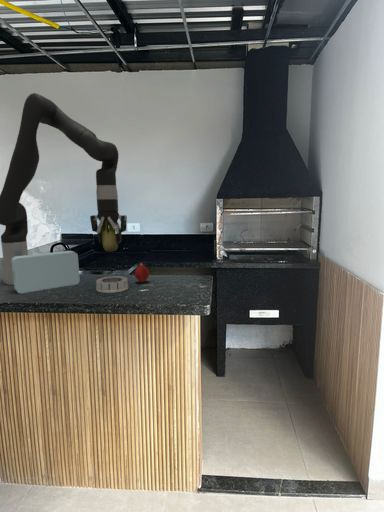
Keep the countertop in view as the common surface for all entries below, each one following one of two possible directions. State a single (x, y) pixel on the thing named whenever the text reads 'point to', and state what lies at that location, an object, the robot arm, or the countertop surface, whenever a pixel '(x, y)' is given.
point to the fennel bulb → (109, 238)
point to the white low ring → (112, 284)
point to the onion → (141, 273)
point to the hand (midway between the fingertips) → (109, 242)
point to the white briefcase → (45, 271)
